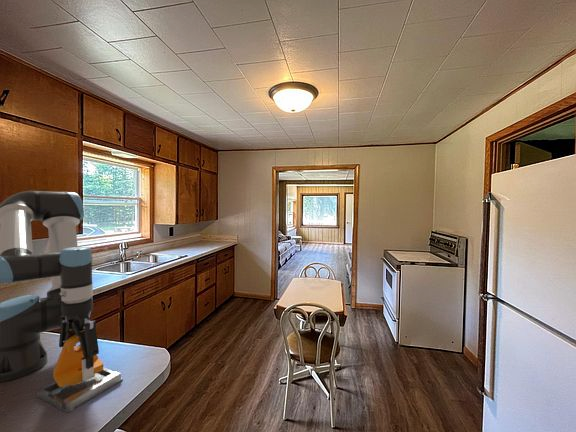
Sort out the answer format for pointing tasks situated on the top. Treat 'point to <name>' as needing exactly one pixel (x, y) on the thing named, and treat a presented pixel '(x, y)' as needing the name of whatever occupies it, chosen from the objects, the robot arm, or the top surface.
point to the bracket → (72, 364)
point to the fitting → (79, 390)
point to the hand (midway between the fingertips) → (79, 374)
